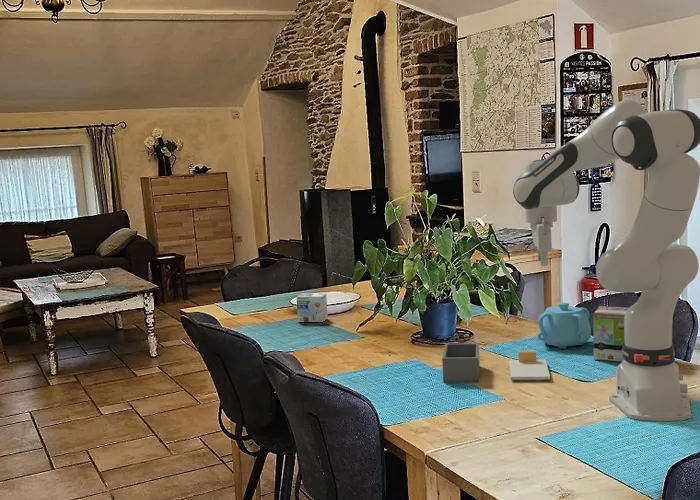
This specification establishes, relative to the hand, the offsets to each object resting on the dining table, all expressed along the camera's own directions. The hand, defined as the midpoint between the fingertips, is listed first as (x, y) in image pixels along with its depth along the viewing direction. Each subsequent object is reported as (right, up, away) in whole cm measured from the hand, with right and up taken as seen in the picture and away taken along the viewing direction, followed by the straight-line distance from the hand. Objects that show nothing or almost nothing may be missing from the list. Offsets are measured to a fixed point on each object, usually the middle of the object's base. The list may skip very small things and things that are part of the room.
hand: (542, 263), depth 224 cm
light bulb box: (-71, -25, +82) cm, 111 cm away
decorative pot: (+13, -27, +25) cm, 39 cm away
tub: (-24, -32, 0) cm, 40 cm away
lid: (-5, -32, -3) cm, 32 cm away
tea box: (+25, -29, +6) cm, 39 cm away
